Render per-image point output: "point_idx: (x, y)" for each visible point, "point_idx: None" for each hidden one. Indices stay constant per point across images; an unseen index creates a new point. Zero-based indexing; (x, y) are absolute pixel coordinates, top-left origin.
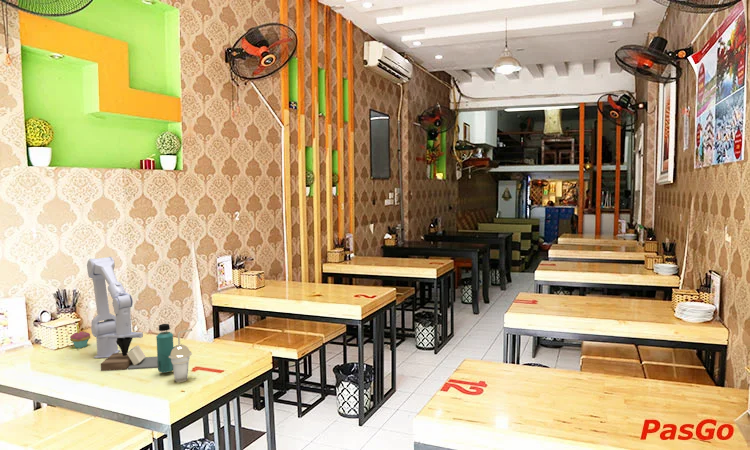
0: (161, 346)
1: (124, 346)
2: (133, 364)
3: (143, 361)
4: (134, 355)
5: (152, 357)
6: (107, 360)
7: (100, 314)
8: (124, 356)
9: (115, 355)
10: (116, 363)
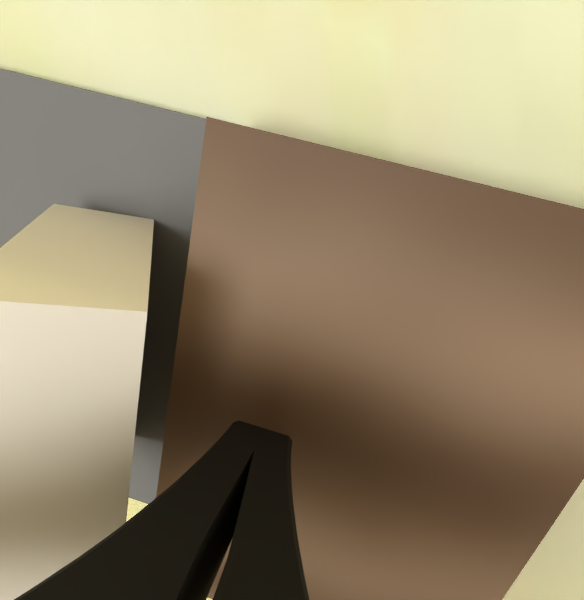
0: None
1: (146, 593)
2: (172, 271)
3: None
4: (25, 247)
5: None
6: (561, 411)
7: None
8: None
9: (419, 592)
10: (394, 165)
